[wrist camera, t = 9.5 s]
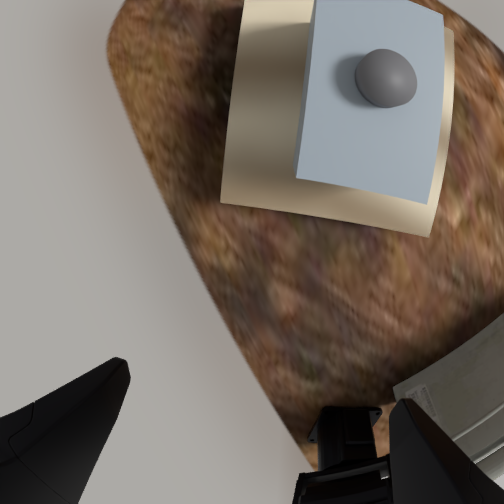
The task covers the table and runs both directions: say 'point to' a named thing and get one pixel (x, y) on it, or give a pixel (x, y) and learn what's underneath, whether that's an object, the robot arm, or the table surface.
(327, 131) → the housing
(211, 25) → the table surface
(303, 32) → the stand
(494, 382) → the geiger counter
